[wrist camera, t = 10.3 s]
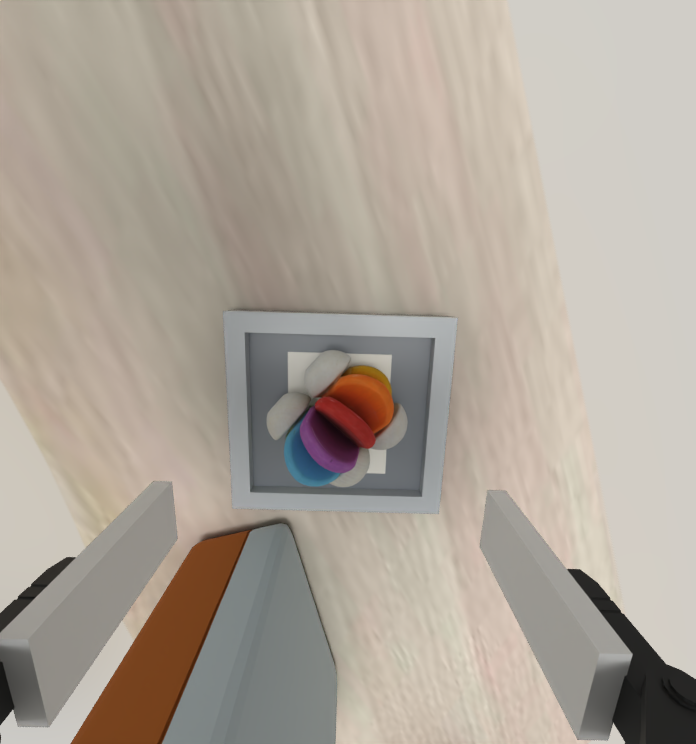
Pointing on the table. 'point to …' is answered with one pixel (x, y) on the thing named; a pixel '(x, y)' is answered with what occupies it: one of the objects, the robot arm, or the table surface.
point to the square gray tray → (286, 375)
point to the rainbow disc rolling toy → (336, 421)
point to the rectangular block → (226, 655)
